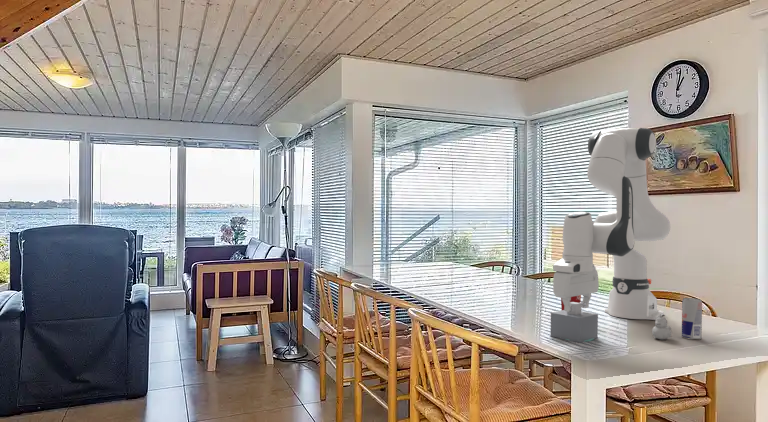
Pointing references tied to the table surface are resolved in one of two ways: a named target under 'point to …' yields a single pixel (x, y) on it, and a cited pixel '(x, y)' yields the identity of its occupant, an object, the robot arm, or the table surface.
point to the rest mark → (584, 341)
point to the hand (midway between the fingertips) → (576, 309)
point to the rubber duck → (661, 329)
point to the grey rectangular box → (574, 324)
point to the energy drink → (692, 318)
